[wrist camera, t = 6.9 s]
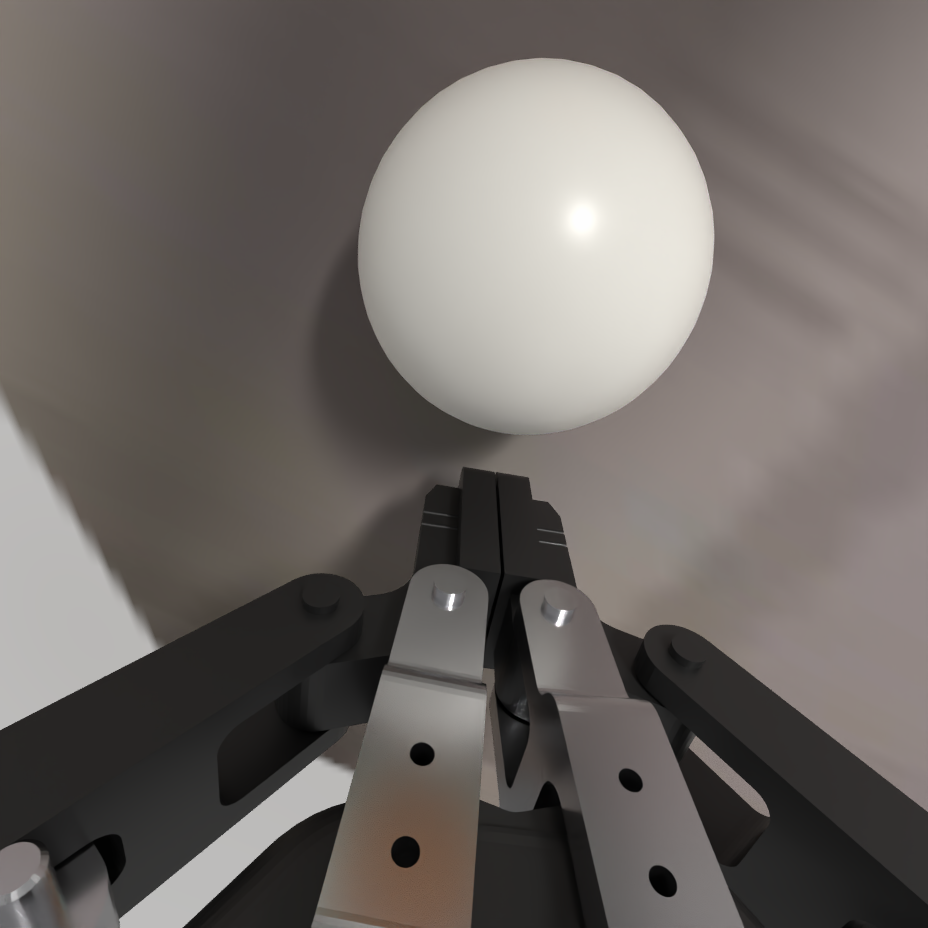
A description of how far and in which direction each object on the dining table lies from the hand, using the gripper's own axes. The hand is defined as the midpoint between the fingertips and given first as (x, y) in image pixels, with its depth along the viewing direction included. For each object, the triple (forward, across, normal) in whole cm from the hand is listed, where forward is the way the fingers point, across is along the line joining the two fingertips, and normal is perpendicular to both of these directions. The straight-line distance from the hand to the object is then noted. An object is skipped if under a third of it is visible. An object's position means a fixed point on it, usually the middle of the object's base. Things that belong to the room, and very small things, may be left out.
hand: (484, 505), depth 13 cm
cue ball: (-1, 0, -6) cm, 6 cm away
